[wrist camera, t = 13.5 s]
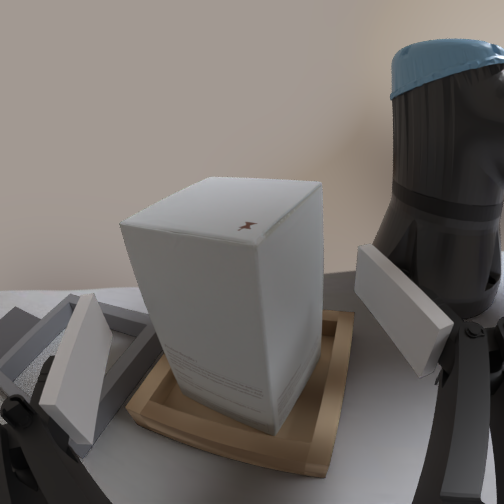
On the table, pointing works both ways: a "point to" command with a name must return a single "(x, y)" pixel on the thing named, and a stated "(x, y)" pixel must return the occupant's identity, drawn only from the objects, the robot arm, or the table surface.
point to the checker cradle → (118, 377)
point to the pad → (14, 328)
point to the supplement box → (235, 291)
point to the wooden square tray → (248, 438)
